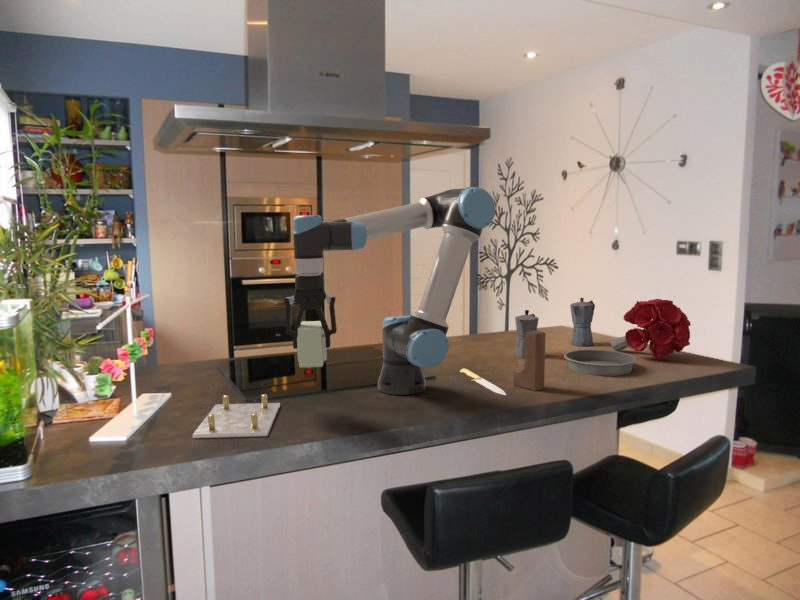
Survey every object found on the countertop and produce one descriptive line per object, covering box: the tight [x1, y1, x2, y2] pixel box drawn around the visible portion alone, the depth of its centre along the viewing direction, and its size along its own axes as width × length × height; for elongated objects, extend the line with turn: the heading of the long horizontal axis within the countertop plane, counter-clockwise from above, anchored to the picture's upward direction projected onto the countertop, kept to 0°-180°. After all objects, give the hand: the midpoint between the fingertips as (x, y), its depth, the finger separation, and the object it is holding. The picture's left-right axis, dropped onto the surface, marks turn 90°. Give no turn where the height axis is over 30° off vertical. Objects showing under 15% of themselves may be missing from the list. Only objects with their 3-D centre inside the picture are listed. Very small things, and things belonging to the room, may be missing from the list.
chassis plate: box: [192, 393, 281, 439], centre depth 158 cm, size 18×24×4 cm
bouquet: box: [610, 298, 691, 360], centre depth 228 cm, size 22×24×30 cm
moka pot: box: [569, 297, 596, 347], centre depth 252 cm, size 10×15×20 cm, turn 133°
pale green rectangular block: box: [297, 320, 325, 368], centre depth 160 cm, size 6×12×10 cm, turn 4°
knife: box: [459, 367, 507, 396], centre depth 195 cm, size 1×32×5 cm
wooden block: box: [512, 330, 546, 392], centre depth 188 cm, size 9×4×18 cm, turn 39°
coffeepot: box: [514, 309, 539, 359], centre depth 232 cm, size 15×9×18 cm, turn 149°
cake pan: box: [563, 348, 638, 377], centre depth 212 cm, size 25×25×4 cm
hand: (312, 359), depth 161 cm, fingers closed on pale green rectangular block, 6 cm apart
